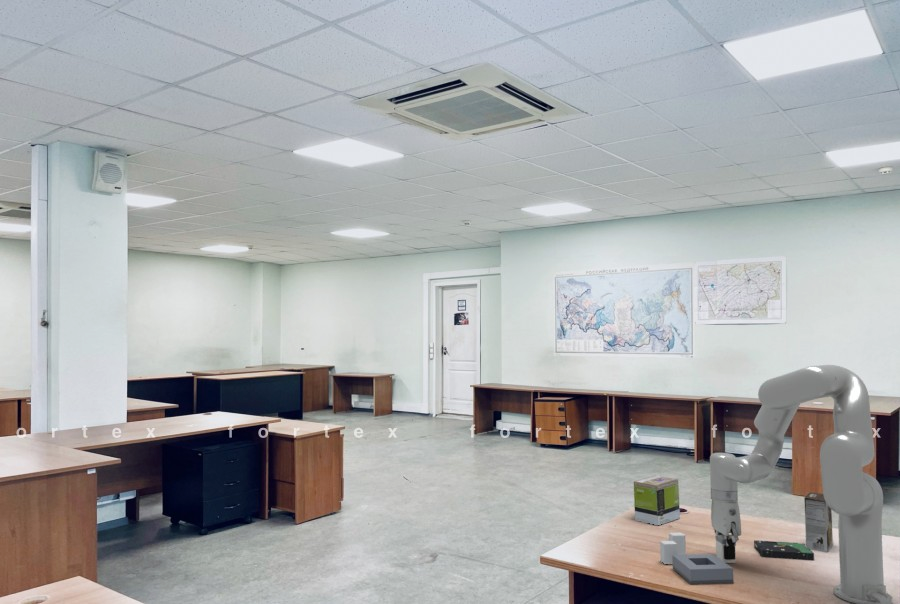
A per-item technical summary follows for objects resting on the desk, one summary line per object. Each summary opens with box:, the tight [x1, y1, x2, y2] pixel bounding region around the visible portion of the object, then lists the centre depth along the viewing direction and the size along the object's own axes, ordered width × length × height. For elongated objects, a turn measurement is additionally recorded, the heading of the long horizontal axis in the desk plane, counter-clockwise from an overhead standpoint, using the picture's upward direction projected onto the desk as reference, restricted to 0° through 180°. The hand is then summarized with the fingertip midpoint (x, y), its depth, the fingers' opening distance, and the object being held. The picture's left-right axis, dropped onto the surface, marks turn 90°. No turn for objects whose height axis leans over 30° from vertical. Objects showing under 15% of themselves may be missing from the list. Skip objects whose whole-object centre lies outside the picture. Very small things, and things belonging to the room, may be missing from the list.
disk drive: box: [753, 540, 815, 561], centre depth 202 cm, size 10×3×15 cm
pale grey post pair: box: [659, 532, 687, 565], centre depth 198 cm, size 11×10×6 cm
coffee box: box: [804, 491, 834, 553], centre depth 209 cm, size 9×6×16 cm
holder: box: [672, 553, 734, 585], centre depth 183 cm, size 12×12×4 cm
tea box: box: [633, 475, 681, 526], centre depth 241 cm, size 15×10×15 cm
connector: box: [715, 534, 737, 564], centre depth 196 cm, size 4×4×7 cm
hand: (725, 555), depth 196 cm, fingers closed on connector, 3 cm apart
